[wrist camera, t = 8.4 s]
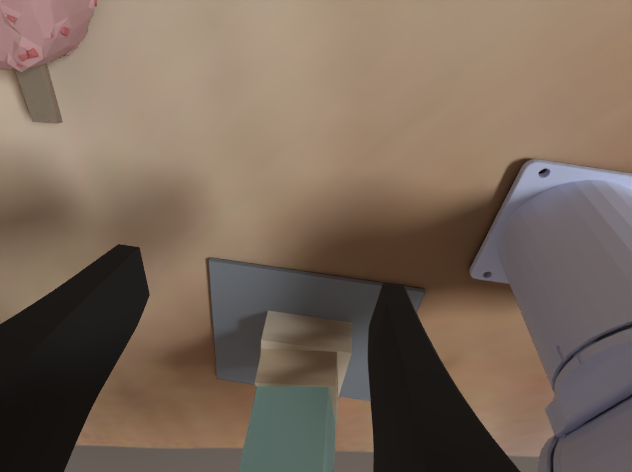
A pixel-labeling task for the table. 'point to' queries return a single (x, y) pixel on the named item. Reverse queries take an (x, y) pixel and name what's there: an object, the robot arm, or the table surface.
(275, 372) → the tower mid
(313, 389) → the teal block
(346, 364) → the tower base
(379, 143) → the table surface
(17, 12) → the ice cream bar
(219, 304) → the felt mat
